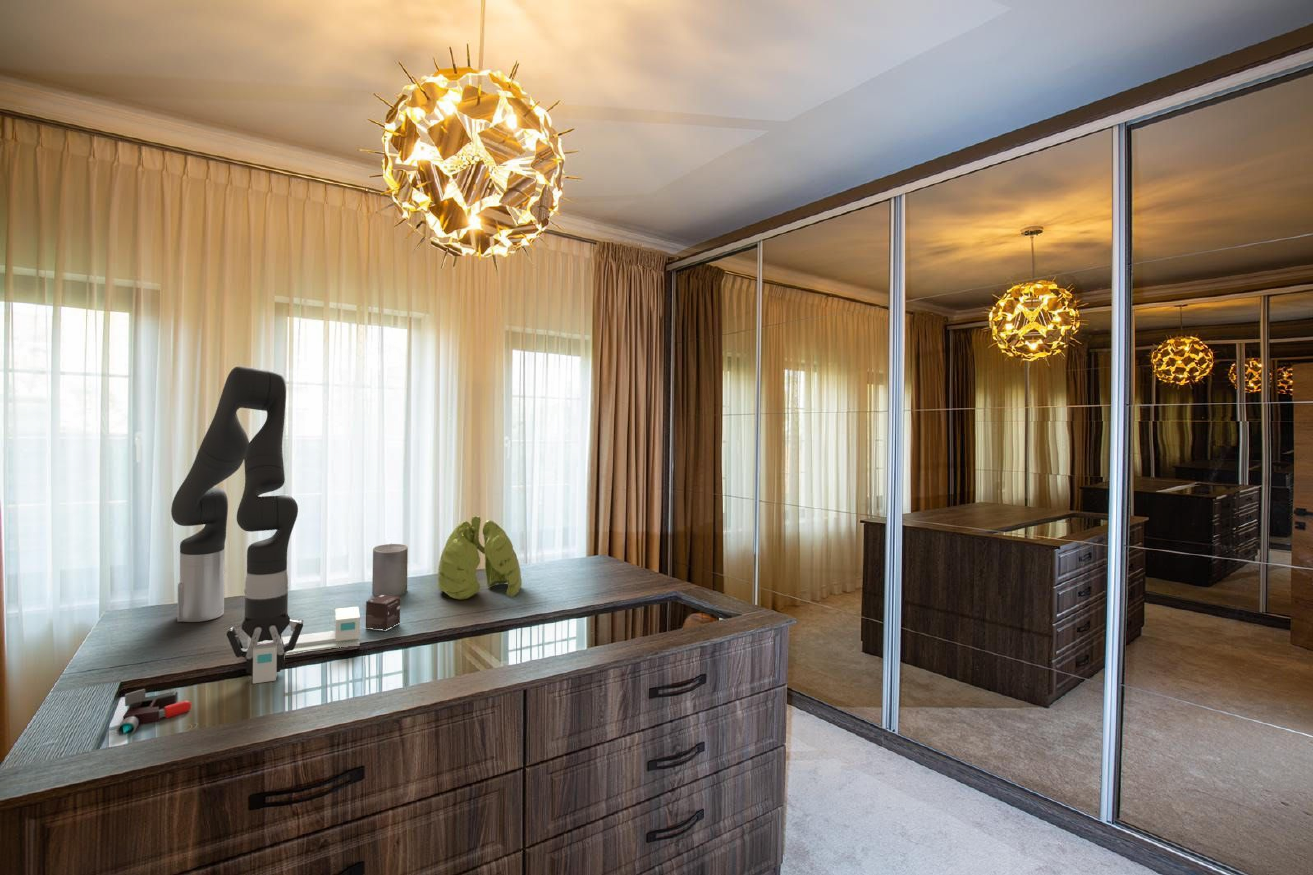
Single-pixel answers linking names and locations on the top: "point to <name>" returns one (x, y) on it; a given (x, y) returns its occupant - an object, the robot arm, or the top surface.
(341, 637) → the board
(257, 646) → the block
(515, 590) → the lungs
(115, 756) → the top surface
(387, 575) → the pillar candle
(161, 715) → the toy gun
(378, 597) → the box
